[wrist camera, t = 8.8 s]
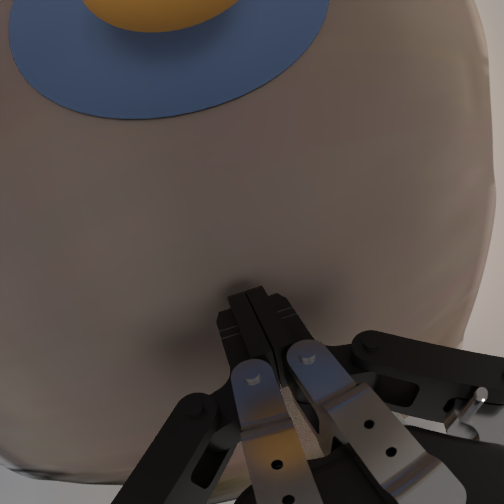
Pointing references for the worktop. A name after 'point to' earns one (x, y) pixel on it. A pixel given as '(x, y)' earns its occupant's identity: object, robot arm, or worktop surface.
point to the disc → (157, 56)
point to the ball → (156, 13)
